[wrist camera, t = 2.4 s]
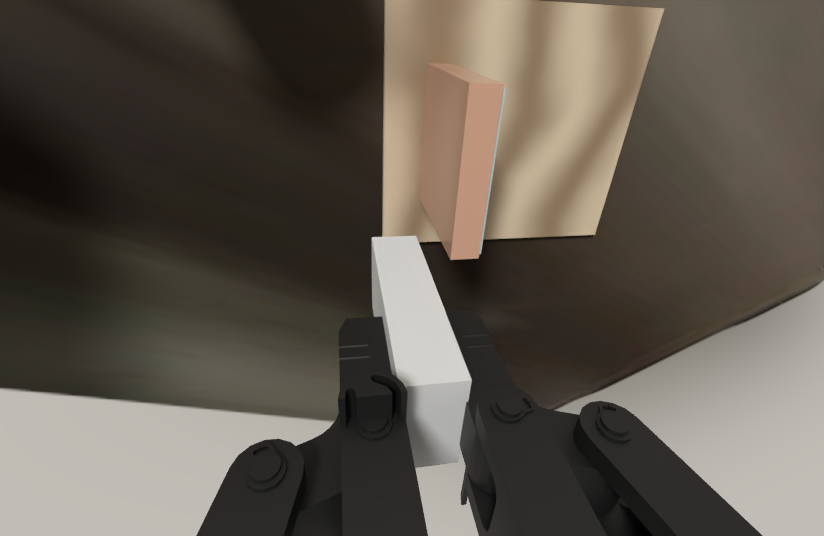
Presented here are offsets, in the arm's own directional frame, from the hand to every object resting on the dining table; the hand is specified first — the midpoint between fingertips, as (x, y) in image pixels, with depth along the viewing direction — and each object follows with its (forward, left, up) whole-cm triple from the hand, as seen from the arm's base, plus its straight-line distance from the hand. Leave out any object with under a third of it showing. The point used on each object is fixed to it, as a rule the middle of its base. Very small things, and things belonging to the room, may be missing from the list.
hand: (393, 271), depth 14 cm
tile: (+6, 0, -19) cm, 20 cm away
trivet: (+12, 0, -20) cm, 23 cm away
